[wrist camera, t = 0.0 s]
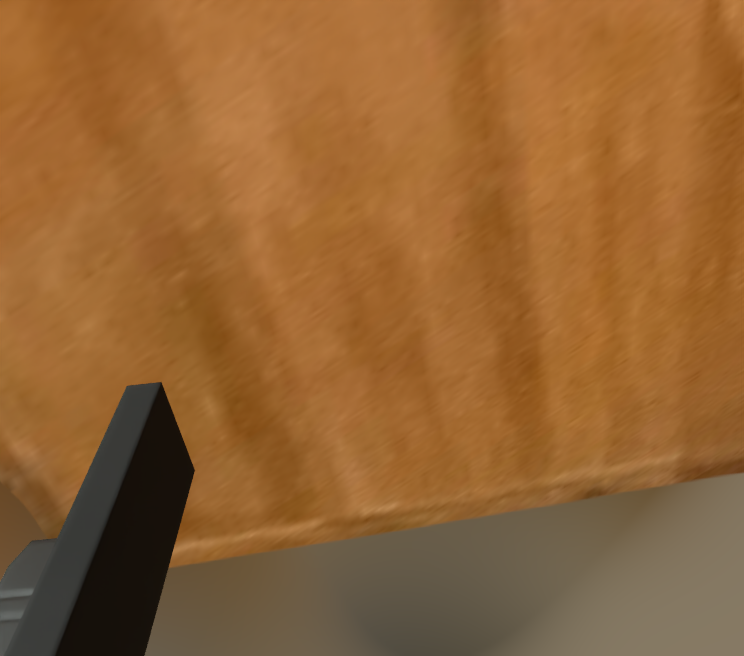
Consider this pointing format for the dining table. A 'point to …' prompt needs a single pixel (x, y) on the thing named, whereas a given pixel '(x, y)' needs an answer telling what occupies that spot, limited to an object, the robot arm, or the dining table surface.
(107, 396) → the dining table surface
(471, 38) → the dining table surface
